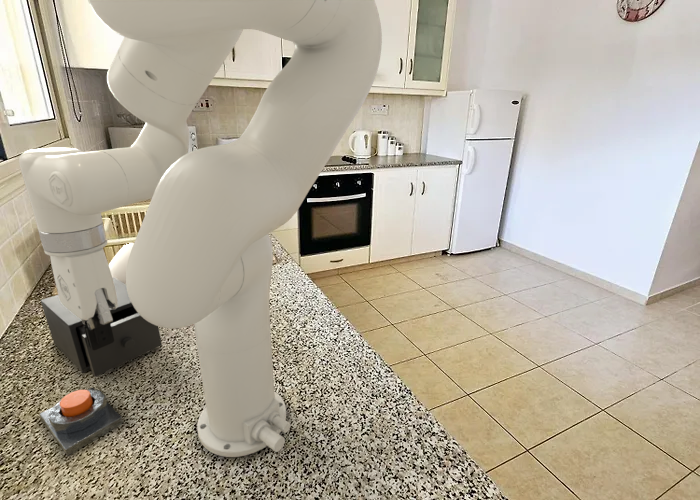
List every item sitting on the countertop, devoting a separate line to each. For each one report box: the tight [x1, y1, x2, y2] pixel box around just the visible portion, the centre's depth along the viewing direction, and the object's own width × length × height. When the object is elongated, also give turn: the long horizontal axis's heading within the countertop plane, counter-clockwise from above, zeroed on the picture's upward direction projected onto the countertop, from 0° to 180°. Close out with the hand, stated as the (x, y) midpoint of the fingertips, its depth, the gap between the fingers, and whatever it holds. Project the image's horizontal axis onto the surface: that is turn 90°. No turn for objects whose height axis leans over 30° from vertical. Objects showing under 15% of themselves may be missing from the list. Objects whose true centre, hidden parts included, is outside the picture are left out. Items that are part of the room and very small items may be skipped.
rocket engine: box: [108, 242, 134, 284], centre depth 88 cm, size 12×12×18 cm
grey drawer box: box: [40, 278, 133, 374], centre depth 71 cm, size 14×13×10 cm
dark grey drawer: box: [76, 306, 163, 378], centre depth 68 cm, size 14×11×8 cm
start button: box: [59, 389, 93, 417], centre depth 53 cm, size 4×4×2 cm
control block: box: [39, 386, 124, 457], centre depth 54 cm, size 10×7×3 cm
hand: (101, 344), depth 60 cm, fingers closed
